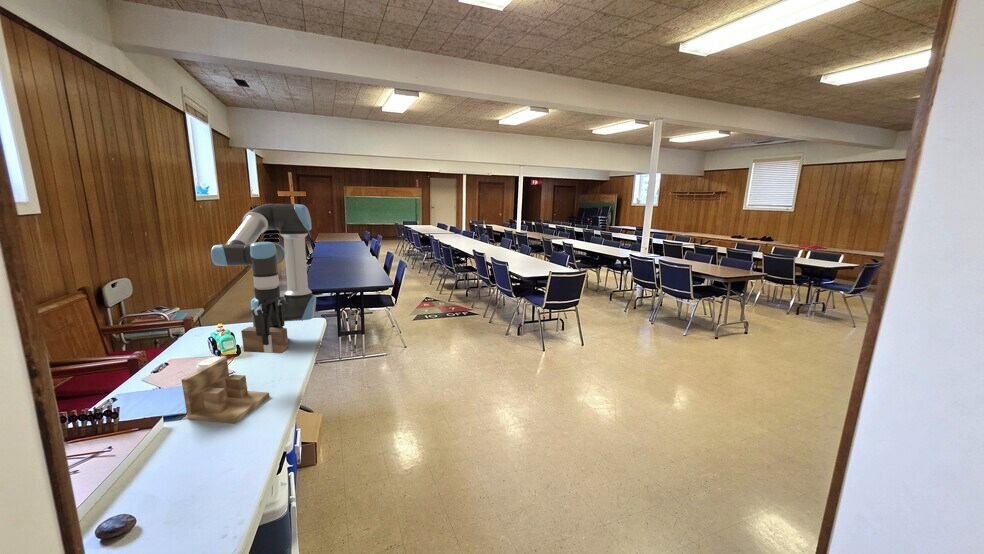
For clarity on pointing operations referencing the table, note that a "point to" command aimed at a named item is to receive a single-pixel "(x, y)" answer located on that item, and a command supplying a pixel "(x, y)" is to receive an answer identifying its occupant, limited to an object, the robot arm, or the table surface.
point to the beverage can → (207, 362)
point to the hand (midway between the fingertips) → (273, 349)
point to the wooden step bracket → (219, 394)
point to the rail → (256, 345)
